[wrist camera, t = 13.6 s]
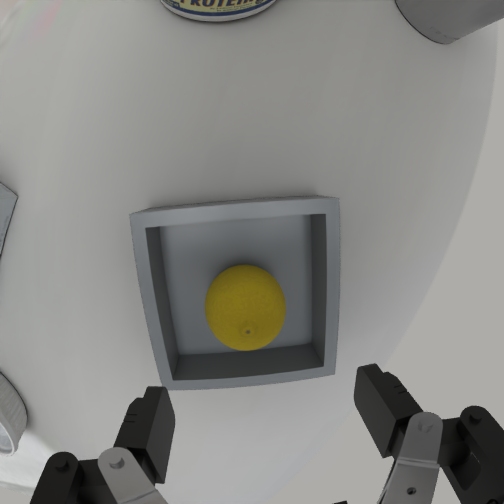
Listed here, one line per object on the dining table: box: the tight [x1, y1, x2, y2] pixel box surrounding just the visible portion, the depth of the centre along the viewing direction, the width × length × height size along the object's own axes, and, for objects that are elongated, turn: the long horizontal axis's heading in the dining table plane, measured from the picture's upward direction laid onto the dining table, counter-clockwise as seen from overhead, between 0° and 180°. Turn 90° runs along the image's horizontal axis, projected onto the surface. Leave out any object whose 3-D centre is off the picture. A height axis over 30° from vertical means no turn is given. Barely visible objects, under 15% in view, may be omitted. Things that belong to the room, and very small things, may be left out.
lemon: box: [205, 265, 286, 351], centre depth 21 cm, size 6×6×8 cm
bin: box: [129, 195, 340, 390], centre depth 23 cm, size 14×14×5 cm
